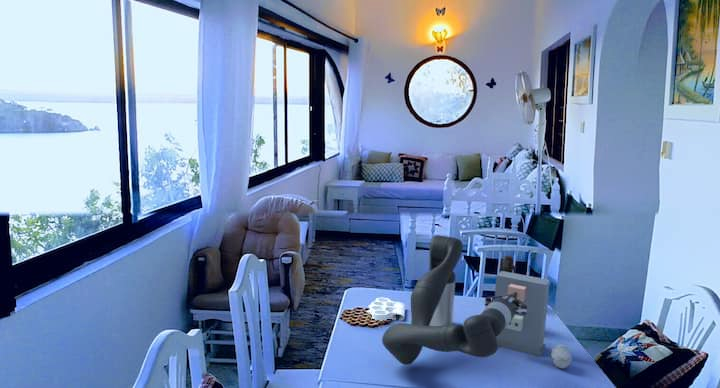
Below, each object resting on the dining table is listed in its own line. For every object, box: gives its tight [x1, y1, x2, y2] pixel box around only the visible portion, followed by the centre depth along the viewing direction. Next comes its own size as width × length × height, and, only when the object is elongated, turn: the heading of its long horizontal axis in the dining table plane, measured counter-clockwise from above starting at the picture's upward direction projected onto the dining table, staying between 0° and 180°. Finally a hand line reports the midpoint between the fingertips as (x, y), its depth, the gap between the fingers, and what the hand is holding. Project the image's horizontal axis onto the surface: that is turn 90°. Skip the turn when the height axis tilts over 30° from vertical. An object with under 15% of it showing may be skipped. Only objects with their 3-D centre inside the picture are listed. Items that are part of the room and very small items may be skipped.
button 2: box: [506, 315, 524, 331], centre depth 169 cm, size 3×5×4 cm
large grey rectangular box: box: [494, 270, 551, 358], centre depth 175 cm, size 8×17×24 cm, turn 60°
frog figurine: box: [550, 343, 573, 369], centre depth 163 cm, size 6×7×7 cm
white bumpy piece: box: [366, 297, 406, 322], centre depth 201 cm, size 3×18×15 cm
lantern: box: [498, 233, 518, 273], centre depth 211 cm, size 8×8×30 cm
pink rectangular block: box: [508, 284, 526, 302], centre depth 167 cm, size 3×5×4 cm
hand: (512, 297), depth 163 cm, fingers closed
